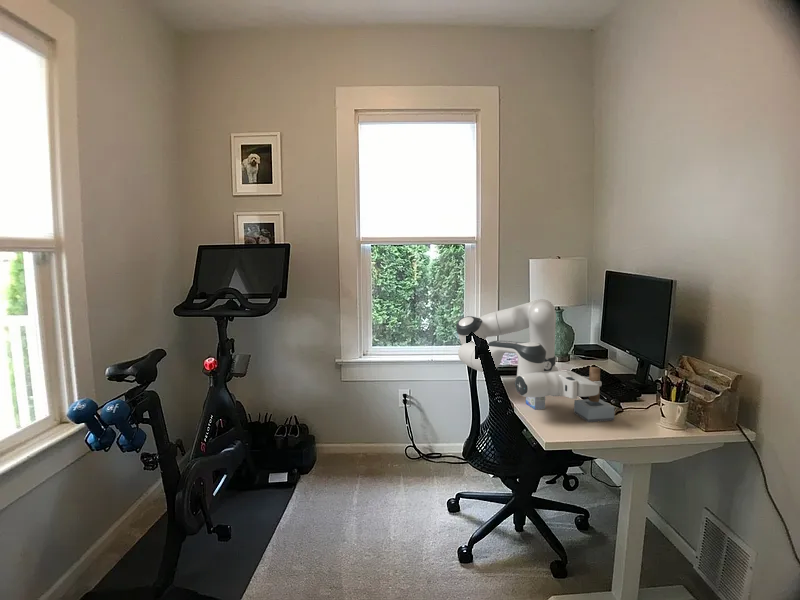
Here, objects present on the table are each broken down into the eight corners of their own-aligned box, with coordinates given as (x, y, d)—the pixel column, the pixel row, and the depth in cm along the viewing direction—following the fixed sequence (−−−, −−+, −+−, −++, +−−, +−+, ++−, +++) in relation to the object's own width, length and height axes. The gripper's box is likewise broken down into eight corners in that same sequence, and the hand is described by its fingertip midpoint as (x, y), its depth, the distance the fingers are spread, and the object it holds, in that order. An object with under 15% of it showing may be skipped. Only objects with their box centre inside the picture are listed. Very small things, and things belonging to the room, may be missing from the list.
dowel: (586, 399, 178) (587, 367, 177) (595, 398, 178) (596, 366, 177) (592, 402, 174) (592, 369, 173) (601, 401, 175) (602, 369, 174)
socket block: (574, 412, 181) (574, 400, 181) (598, 411, 183) (599, 398, 182) (588, 422, 172) (588, 408, 171) (614, 420, 173) (614, 406, 173)
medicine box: (525, 403, 193) (525, 382, 192) (535, 402, 194) (535, 381, 193) (534, 410, 185) (535, 388, 184) (545, 409, 186) (545, 387, 185)
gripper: (548, 384, 184) (581, 382, 186) (575, 400, 164) (612, 398, 166) (548, 368, 184) (582, 366, 186) (575, 382, 164) (613, 380, 166)
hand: (596, 381), depth 176 cm, fingers closed on dowel, 4 cm apart
